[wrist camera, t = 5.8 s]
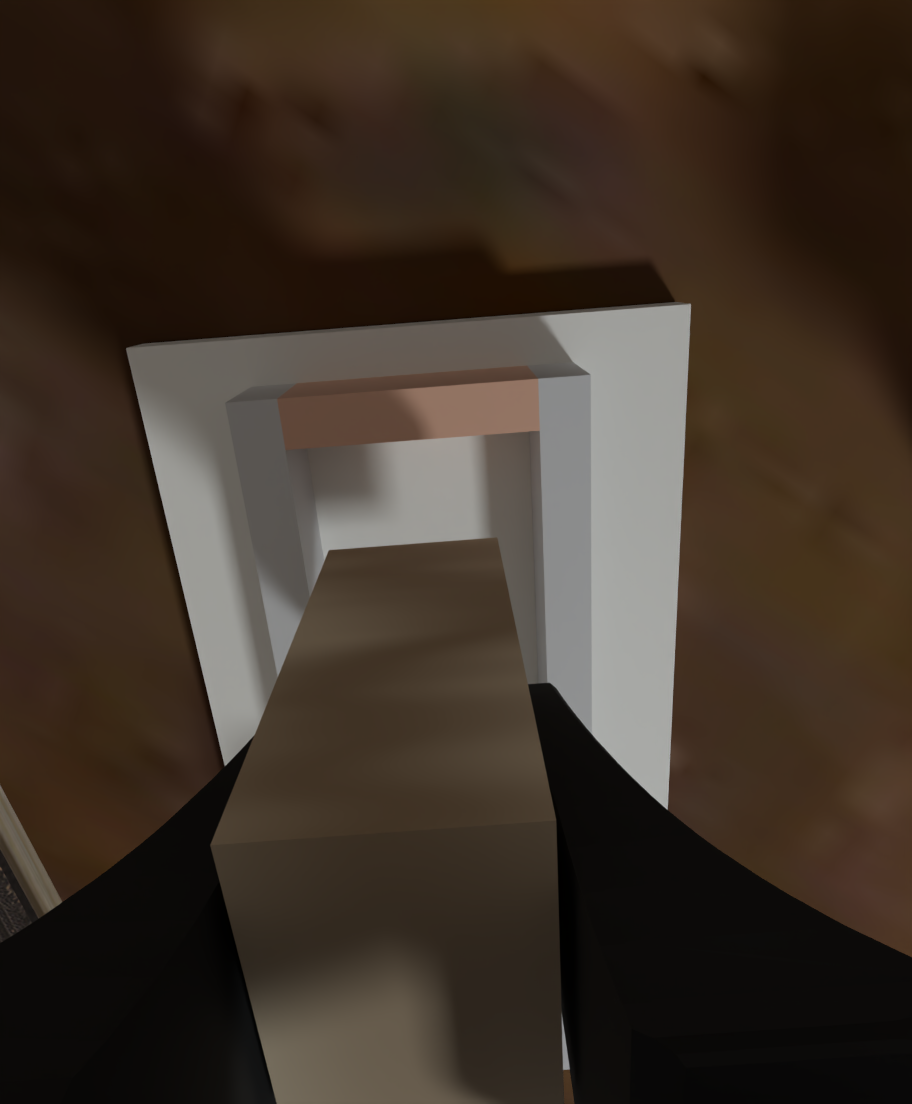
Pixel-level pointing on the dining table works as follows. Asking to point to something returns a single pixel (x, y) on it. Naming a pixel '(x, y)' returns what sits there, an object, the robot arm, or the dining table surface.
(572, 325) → the rail
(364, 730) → the block
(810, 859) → the dining table surface
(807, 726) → the dining table surface
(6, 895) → the hardcover book
